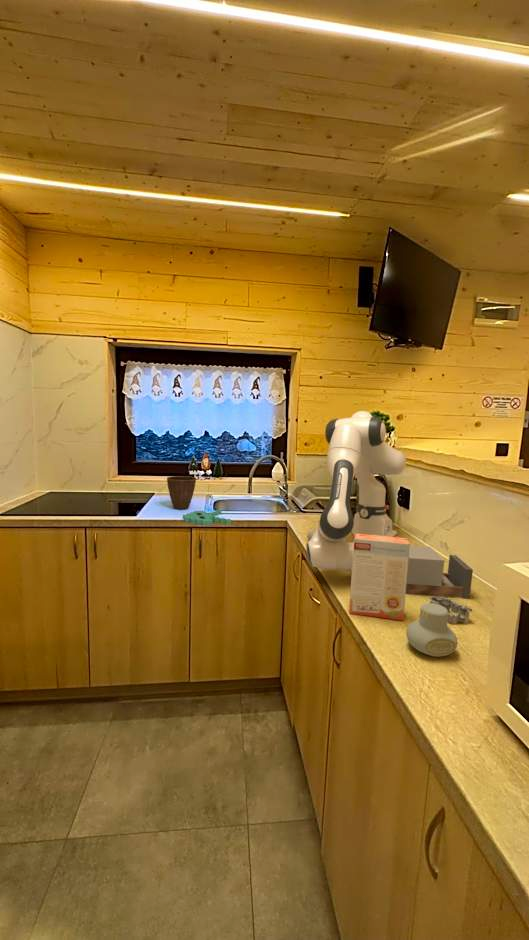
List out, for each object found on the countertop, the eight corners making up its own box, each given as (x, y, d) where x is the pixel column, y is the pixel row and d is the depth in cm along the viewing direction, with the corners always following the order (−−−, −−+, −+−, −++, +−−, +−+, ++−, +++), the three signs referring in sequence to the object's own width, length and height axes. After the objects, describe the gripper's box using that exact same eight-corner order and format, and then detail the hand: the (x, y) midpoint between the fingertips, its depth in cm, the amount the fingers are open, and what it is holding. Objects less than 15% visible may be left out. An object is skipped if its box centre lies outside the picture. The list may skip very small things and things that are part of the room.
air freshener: (415, 660, 93) (419, 617, 92) (399, 640, 101) (403, 600, 100) (462, 659, 94) (467, 616, 93) (443, 639, 103) (447, 600, 101)
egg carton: (472, 625, 111) (474, 610, 111) (446, 625, 110) (447, 610, 110) (449, 606, 122) (451, 592, 121) (425, 606, 121) (426, 592, 120)
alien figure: (220, 514, 217) (180, 515, 209) (220, 510, 216) (180, 511, 209) (231, 524, 198) (188, 526, 191) (231, 519, 198) (188, 521, 191)
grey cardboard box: (407, 583, 127) (409, 558, 126) (396, 568, 140) (398, 544, 139) (441, 586, 127) (444, 560, 126) (427, 570, 140) (430, 546, 139)
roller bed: (392, 593, 128) (395, 564, 127) (383, 577, 141) (385, 550, 140) (469, 598, 127) (472, 569, 126) (452, 581, 140) (455, 555, 138)
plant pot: (160, 507, 223) (160, 477, 220) (183, 503, 234) (183, 475, 232) (178, 513, 213) (179, 481, 211) (201, 508, 224) (202, 478, 222)
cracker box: (401, 611, 116) (408, 537, 113) (403, 621, 110) (410, 543, 108) (349, 604, 119) (354, 531, 116) (348, 613, 113) (354, 537, 111)
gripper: (364, 558, 123) (413, 561, 122) (354, 537, 143) (396, 540, 143) (363, 579, 124) (411, 582, 123) (353, 555, 144) (394, 558, 144)
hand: (403, 560), depth 133 cm, fingers closed, pressing on grey cardboard box
